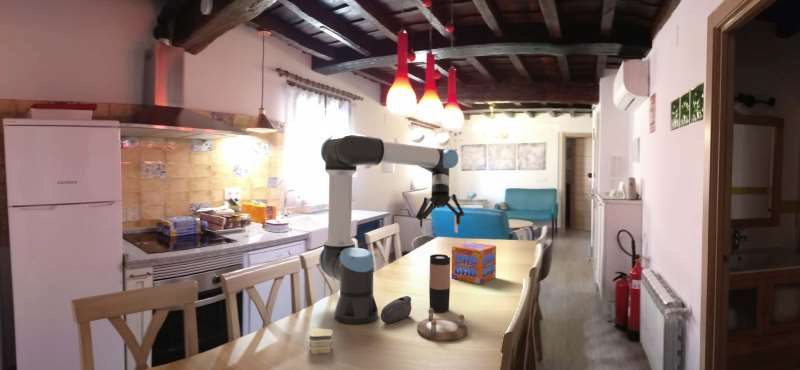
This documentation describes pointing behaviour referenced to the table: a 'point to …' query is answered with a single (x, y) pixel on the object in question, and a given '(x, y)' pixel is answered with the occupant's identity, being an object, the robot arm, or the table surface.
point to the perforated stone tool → (396, 310)
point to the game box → (473, 262)
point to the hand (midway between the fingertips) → (439, 233)
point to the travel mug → (439, 283)
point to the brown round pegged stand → (442, 328)
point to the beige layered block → (320, 340)
